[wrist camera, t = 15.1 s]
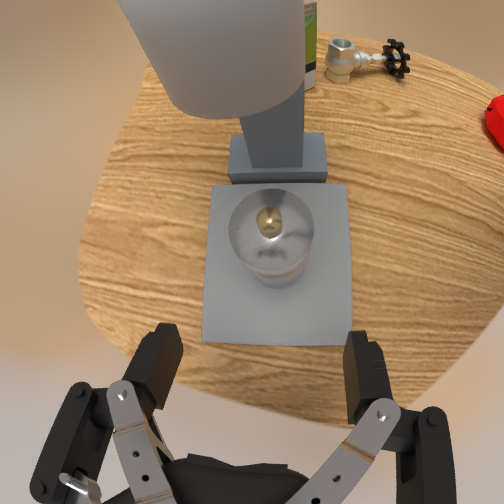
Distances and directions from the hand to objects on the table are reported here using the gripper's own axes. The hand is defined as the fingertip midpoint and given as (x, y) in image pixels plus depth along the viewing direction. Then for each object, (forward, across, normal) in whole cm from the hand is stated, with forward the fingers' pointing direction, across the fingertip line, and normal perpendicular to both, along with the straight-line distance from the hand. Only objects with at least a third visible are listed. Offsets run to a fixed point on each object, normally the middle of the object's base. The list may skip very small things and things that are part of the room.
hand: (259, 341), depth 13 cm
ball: (+30, -36, -9) cm, 47 cm away
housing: (+14, 0, +4) cm, 15 cm away
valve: (+35, -13, -14) cm, 40 cm away
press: (+17, +4, +4) cm, 18 cm away
